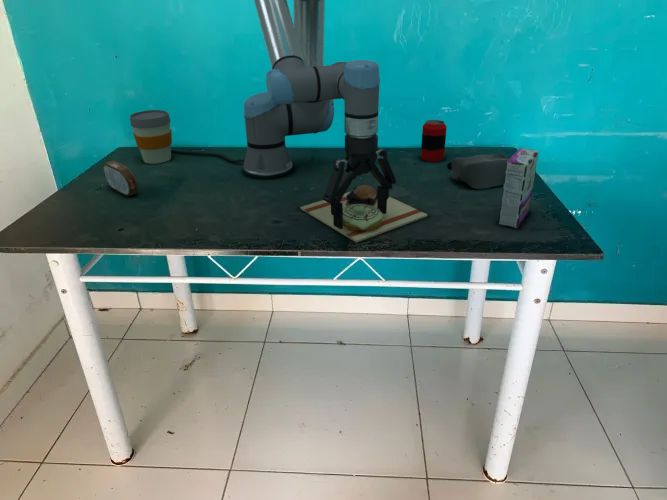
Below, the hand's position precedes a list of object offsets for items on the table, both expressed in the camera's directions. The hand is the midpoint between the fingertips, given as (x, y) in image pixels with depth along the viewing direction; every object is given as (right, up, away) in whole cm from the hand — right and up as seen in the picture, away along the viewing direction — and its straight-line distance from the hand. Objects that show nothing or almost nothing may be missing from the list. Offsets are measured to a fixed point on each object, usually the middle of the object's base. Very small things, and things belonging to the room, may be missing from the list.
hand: (360, 219), depth 128 cm
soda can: (+26, +22, +44) cm, 56 cm away
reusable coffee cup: (-66, +23, +48) cm, 85 cm away
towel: (+1, +2, +8) cm, 8 cm away
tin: (-68, +9, +24) cm, 72 cm away
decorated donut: (0, -1, +1) cm, 2 cm away
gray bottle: (+36, +13, +26) cm, 46 cm away
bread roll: (+1, +6, +14) cm, 15 cm away
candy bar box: (+39, 0, +3) cm, 39 cm away
